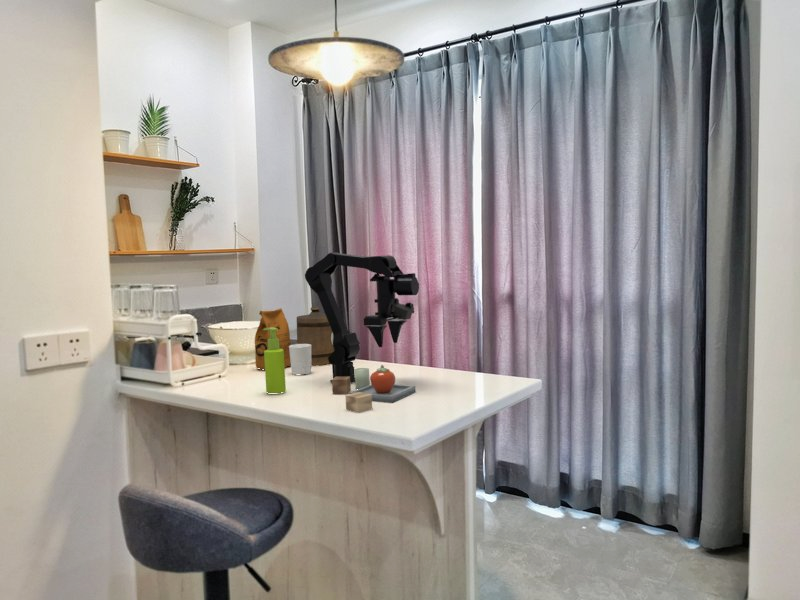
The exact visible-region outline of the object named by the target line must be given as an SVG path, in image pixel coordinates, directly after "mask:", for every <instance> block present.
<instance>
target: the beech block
mask: <svg viewBox="0 0 800 600" xmlns="http://www.w3.org/2000/svg"><path fill="white" fill-rule="evenodd" d="M344 395H345V410H346V409H347V410H346V411H350V410H351V412H354V411H355V412H354V413H361V411H362V412H365V410H366V411H369V410H372V409H373V401H372V395H371V394H367V393H362V392H358V393H354V394H350V393H348V394H344Z"/></svg>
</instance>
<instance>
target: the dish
mask: <svg viewBox="0 0 800 600" xmlns="http://www.w3.org/2000/svg"><path fill="white" fill-rule="evenodd" d="M358 392H362V393H367V394H371V395H372V402H379V403H389V404H390V403H391V404H392V403H393V404H394V403H395V402H397V401H399V400H401V399H403V398H404V399H405V398H406V397H408V396H410V395H412V394H414V393H416V392H417V391H416V386H415V385H410V384H409V385H408V384H407V385H406V384H394V386H393V388H392V390H391V391H390V392H388V393H377V392H376V391H375V390H374V389H373V387H372V385H371V384H370V385H368V386H365V387H363V388H360V389H358V390H357V389H355V390H353V391H350V392H349V394H354V393H358Z"/></svg>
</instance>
